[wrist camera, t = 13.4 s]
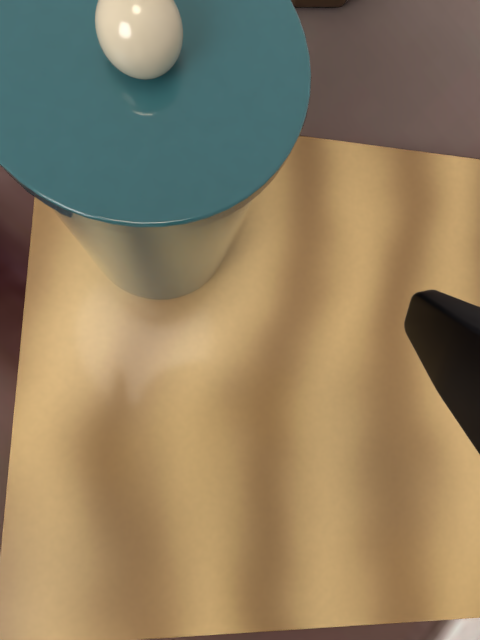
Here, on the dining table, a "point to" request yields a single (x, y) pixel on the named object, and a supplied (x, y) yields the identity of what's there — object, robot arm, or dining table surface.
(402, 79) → the dining table surface
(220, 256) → the pot
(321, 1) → the beer bottle
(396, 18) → the dining table surface
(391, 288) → the mat
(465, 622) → the dining table surface
